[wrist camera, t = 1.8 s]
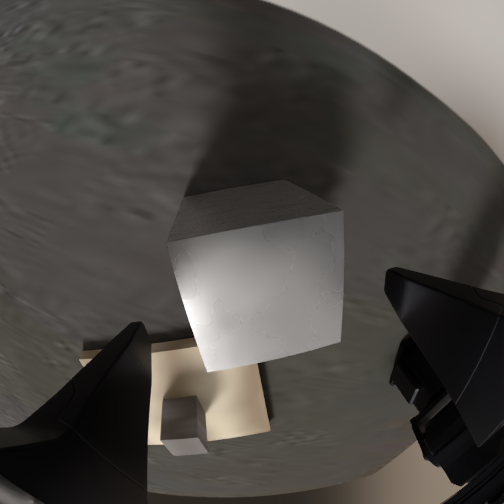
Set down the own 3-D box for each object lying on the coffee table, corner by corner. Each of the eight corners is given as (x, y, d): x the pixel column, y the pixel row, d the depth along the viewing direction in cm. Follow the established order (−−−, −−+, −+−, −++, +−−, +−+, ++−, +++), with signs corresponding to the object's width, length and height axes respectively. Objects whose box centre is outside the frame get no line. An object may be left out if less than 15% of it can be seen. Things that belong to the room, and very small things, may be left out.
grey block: (285, 179, 15) (343, 210, 9) (293, 269, 17) (340, 341, 11) (183, 197, 14) (166, 242, 8) (204, 287, 17) (207, 372, 10)
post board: (249, 327, 18) (264, 381, 14) (268, 422, 24) (279, 463, 19) (82, 350, 17) (63, 399, 13) (145, 437, 22) (142, 476, 18)
